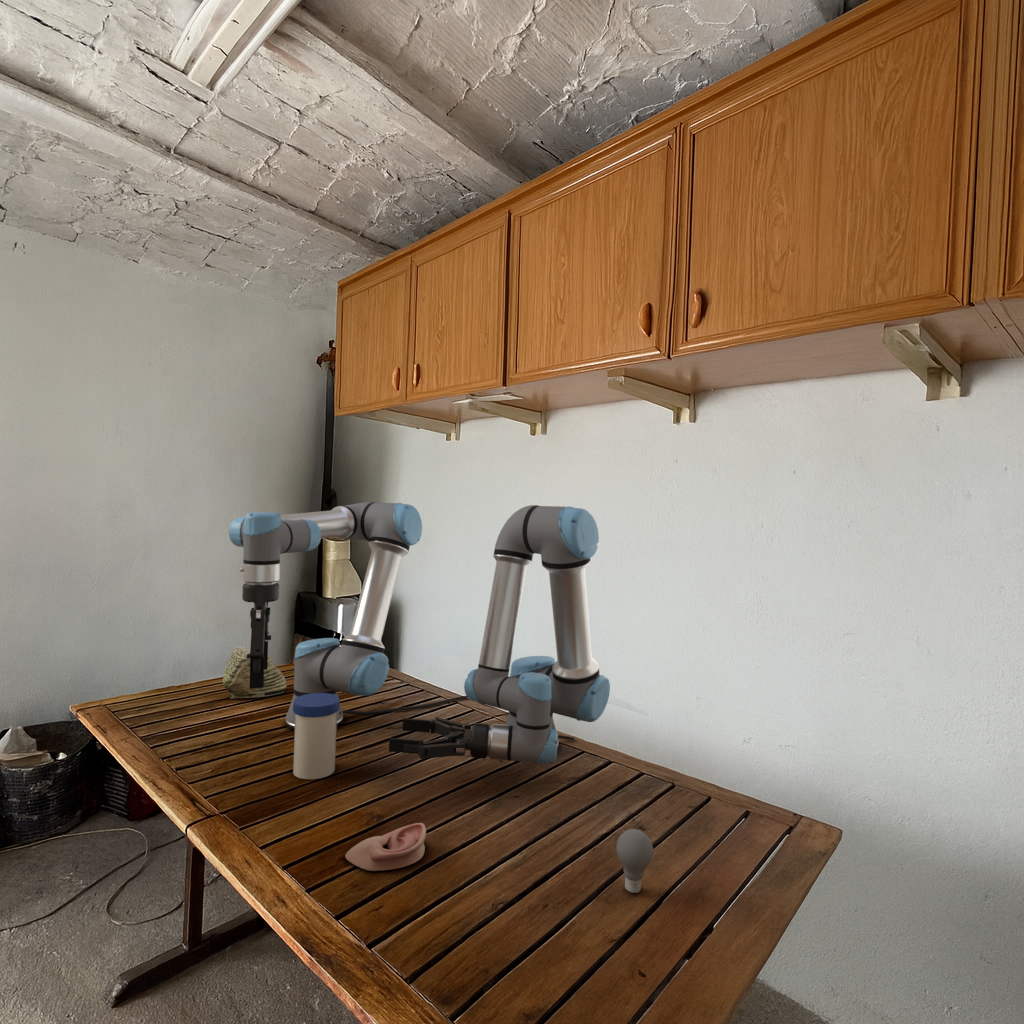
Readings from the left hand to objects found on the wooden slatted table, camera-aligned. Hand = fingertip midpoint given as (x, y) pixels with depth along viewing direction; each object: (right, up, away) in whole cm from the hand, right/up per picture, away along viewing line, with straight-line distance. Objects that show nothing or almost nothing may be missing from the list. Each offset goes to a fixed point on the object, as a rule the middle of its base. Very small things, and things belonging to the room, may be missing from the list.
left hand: (258, 678), depth 140 cm
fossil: (-25, -21, +58) cm, 66 cm away
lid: (+11, -7, +6) cm, 14 cm away
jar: (+10, -23, +6) cm, 26 cm away
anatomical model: (+33, -25, -27) cm, 49 cm away
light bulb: (+76, -27, -34) cm, 87 cm away
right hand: (+30, -14, +5) cm, 33 cm away
